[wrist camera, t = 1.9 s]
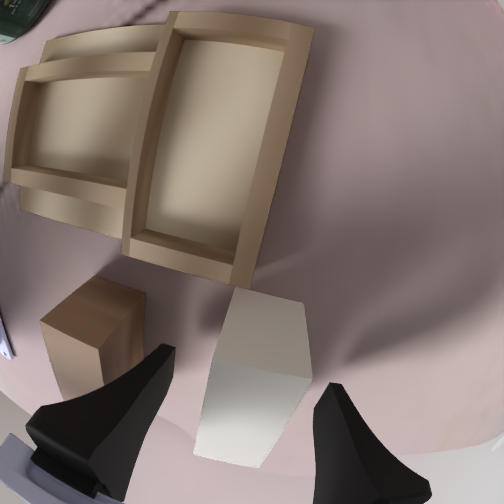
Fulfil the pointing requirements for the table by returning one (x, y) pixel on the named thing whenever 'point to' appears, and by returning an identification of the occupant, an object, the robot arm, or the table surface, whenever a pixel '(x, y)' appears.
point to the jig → (162, 135)
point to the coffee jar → (18, 17)
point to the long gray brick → (254, 378)
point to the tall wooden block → (94, 336)
